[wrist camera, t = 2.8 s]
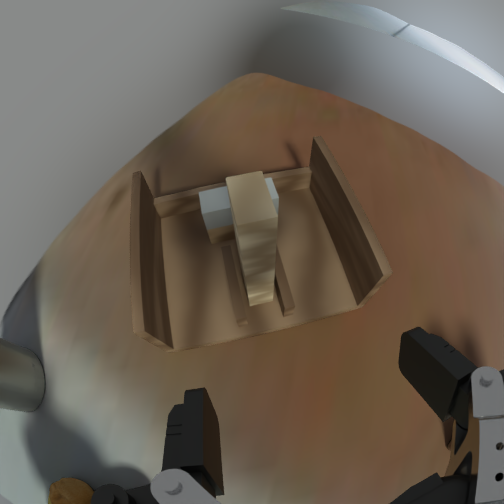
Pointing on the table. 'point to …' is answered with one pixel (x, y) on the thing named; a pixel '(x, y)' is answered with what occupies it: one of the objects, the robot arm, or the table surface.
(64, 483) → the yellow stuffed toy
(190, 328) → the brown wooden tray
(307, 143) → the table surface
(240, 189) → the tan wooden bar
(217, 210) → the grey offcut
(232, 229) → the oak offcut
